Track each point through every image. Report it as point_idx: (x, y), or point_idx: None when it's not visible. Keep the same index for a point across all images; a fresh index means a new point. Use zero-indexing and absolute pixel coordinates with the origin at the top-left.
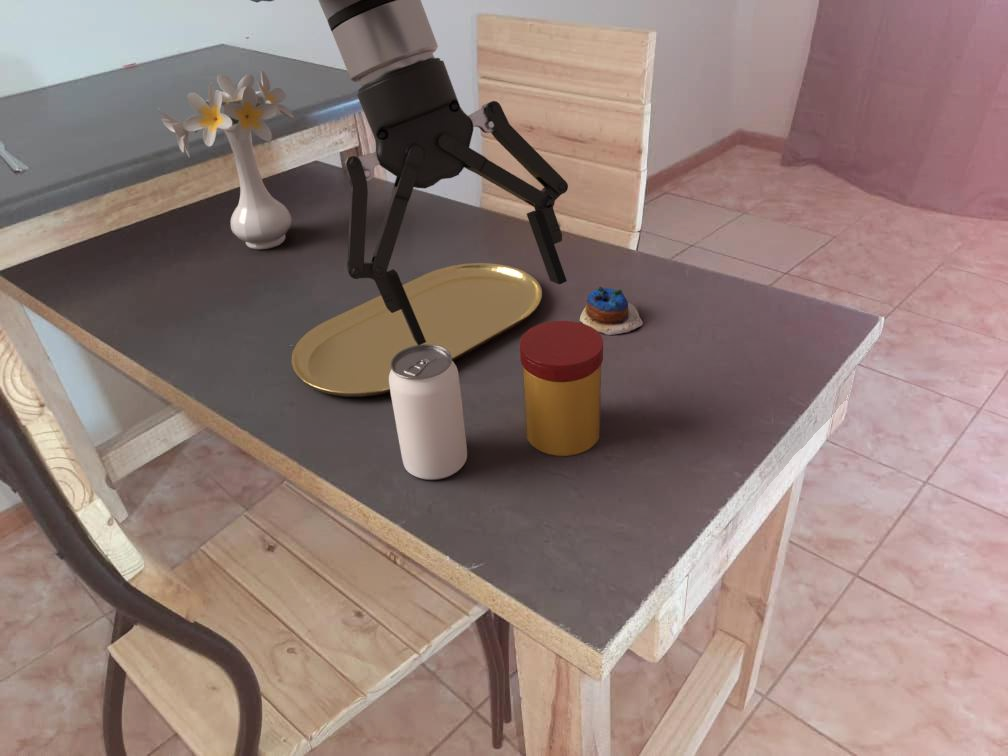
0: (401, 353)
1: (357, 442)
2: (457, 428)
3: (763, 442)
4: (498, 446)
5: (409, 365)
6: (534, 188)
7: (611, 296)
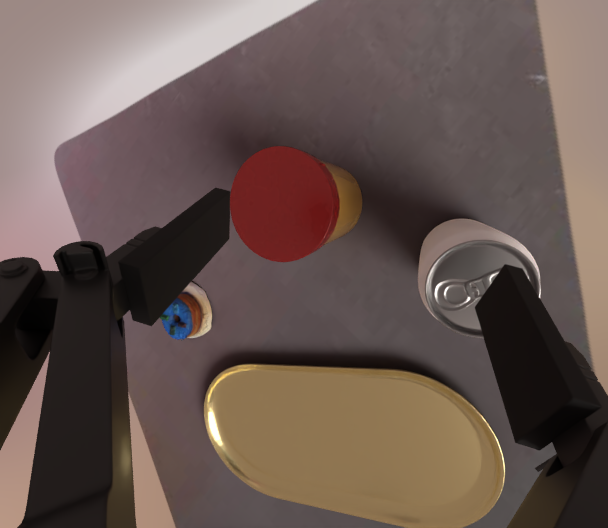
0: None
1: None
2: (450, 225)
3: (200, 75)
4: (389, 228)
5: None
6: (61, 310)
7: (171, 319)
